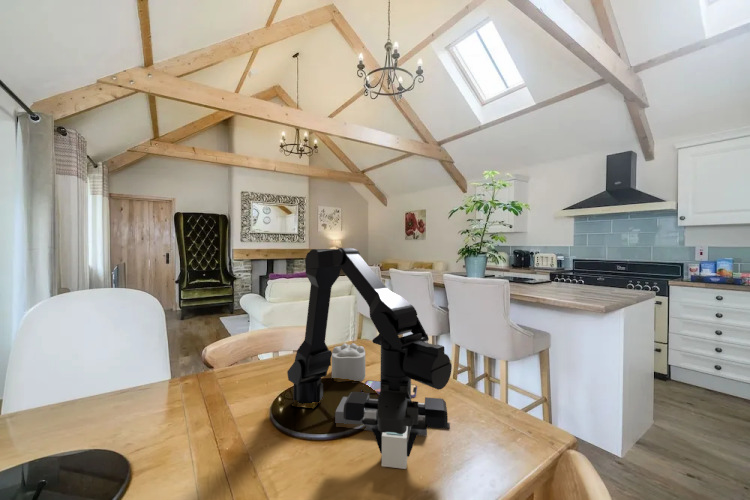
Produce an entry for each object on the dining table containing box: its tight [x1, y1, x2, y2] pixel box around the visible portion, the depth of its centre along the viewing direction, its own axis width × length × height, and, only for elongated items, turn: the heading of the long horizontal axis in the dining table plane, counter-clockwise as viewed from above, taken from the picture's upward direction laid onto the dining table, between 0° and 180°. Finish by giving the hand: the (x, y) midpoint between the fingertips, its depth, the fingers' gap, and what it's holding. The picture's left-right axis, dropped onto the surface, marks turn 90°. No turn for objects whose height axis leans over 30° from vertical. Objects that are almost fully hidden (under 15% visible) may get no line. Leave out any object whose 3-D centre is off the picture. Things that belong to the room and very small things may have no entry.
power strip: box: [334, 396, 451, 437], centre depth 72 cm, size 25×7×4 cm, turn 81°
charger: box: [381, 426, 409, 470], centre depth 61 cm, size 4×7×6 cm
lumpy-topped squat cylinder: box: [331, 342, 366, 382], centre depth 100 cm, size 10×13×9 cm
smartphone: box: [364, 380, 418, 399], centre depth 89 cm, size 1×7×15 cm
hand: (395, 453), depth 60 cm, fingers closed on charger, 4 cm apart
